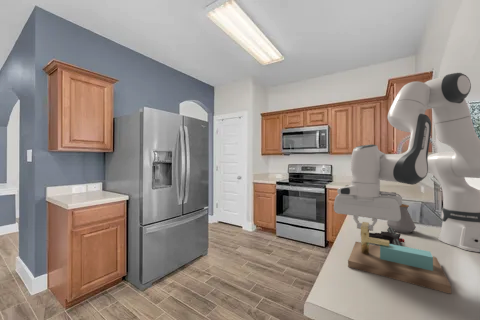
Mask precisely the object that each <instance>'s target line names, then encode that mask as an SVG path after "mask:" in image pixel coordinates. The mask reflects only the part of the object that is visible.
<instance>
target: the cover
mask: <svg viewBox="0 0 480 320" xmlns="http://www.w3.org/2000/svg"><path fill="white" fill-rule="evenodd" d="M379 246H380V259H382V260H387V261H391V262H396V263H400V264H404V265H409V266H413V267H418V268H422V269H426V270H431V271H433V257H434V256H433V255H432V251H428V250H425V249H419V248H415V247H414V248H413V247H407V246H403V245H402V246H398V245H393V244H389V246H384V245H379Z"/></svg>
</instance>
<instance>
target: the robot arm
mask: <svg viewBox="0 0 480 320" xmlns="http://www.w3.org/2000/svg"><path fill="white" fill-rule="evenodd" d="M471 88H472V84H471V81H470V78H469V77H468V76H467V75H466V74H464V73H462V72H454V73H449V74H446V75H444V76H440V77H437V78H433V79H429V80H427V81H425V82H422V81H411V82H408V83H406V84H404V85H403V86H402V87H401V89H399V91H398V92H397V95H396V96H395V98H394V99H393V100H392V104H391V105H390V107H389V110H388V113H387V121H388V123H389V124H390V126H392V127H393V128H395V129H396V130H398V131H401V132H405V133H410V136H409V140H408V148H407V150H406V151H404V152H402V153H391V154H389V153H387V154H386V153H385V152H382V151H381V150H379V147H378V145H376V144H365V145H359V146H356V147H354V148H353V150H352V152H351V157H350V159H351V161H350V171H351V179H350V184H349V185H348V184H347V185H345V186H340V187H338V188H337V191H336V192H337V195H336V196H335V198H334V202H333V211H334V212H335V214H339V215H348V216H353V220H354V222H355V223H356V229H359V230H361V225H362V222H360V221H359V217H362V218H369V219H370V218H371V221H372V223H371V224H370V223H369V224H368V230H369V232H370V231H371V232H373V231H374V226H375V225H376V224H377V222H378V220H384V221H388V220H390V221H399V220H400V219H401V213H400V207H399V206H401V205H402V204H403V197H402V196H401V195H400V194H398V193H397V192H393V191H391V192H389V191H381V181H386V182H393V183H395V182H396V183H401V184H406V185H410V186H411V185H417V184H418V183H420V182H422V181H423V180H424V179H426V177H427V175H428V172H429V173H430V174H432V175H433V176H434V177H435V179H436V180H437V182H438V183H439V185H440V187H441V191H442V201H443V203H442V204H443V205H442V207H441V221H442V223H441V229H440V232H439V235H438V240H439V241H440V242H443V243H445V244H448V245H450V246H455V247H458V248H459V249H462V250H466V251H470V252H476V253H480V190H478V189H477V188H475V187H474V186H471V185H470V184H469V183H468V182H467V181H466V178H474V179H475V178H477V179H480V137H479V136H478V134H477V132H476V129H475V127H474V124H473V120H472V115H471V111H470V107H469V105H468V103H467V101H466V98H467V97H468V95H469V94H470V92H471ZM427 110H431V111H432V120H433V126H434V130H435V135H436V138H437V140H438V142H440V143H442V144H445V145H447V146H449V147H450V148H451V149H452V150H453V151H452V150H451V151H450V150H449V151H440V152H439V151H438V152H435V153H432V154H429V149H430V141H431V133H432V122H431V119H430V116H428V115H427V114H426V112H427Z"/></svg>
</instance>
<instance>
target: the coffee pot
mask: <svg viewBox="0 0 480 320" xmlns="http://www.w3.org/2000/svg"><path fill="white" fill-rule="evenodd" d="M399 207H400V213H401V219H400V220H399V221H390V220H386V225H387V227H388V228H389V227H392V229H393V230H394V232H395V233H402V234H411V232H414V231H415V230H416V225H415V222H414V220H413V219H412V217H411V214H410V212H409V209H408V208H409V207H410V206H409V205H408V204H405V203H402V205H401V206H399Z"/></svg>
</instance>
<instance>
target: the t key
mask: <svg viewBox="0 0 480 320" xmlns="http://www.w3.org/2000/svg"><path fill="white" fill-rule="evenodd" d="M361 223H362V225H361V229H360V237H361V238H360V242H361V252H362V253H365V254H369V244H373V245H375V244H376V245H378V246H380V245H384V246H389V240H383V239H378V238H372V237H369V233H370V230H368V224H370V222H367V221H362V222H361Z"/></svg>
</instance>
